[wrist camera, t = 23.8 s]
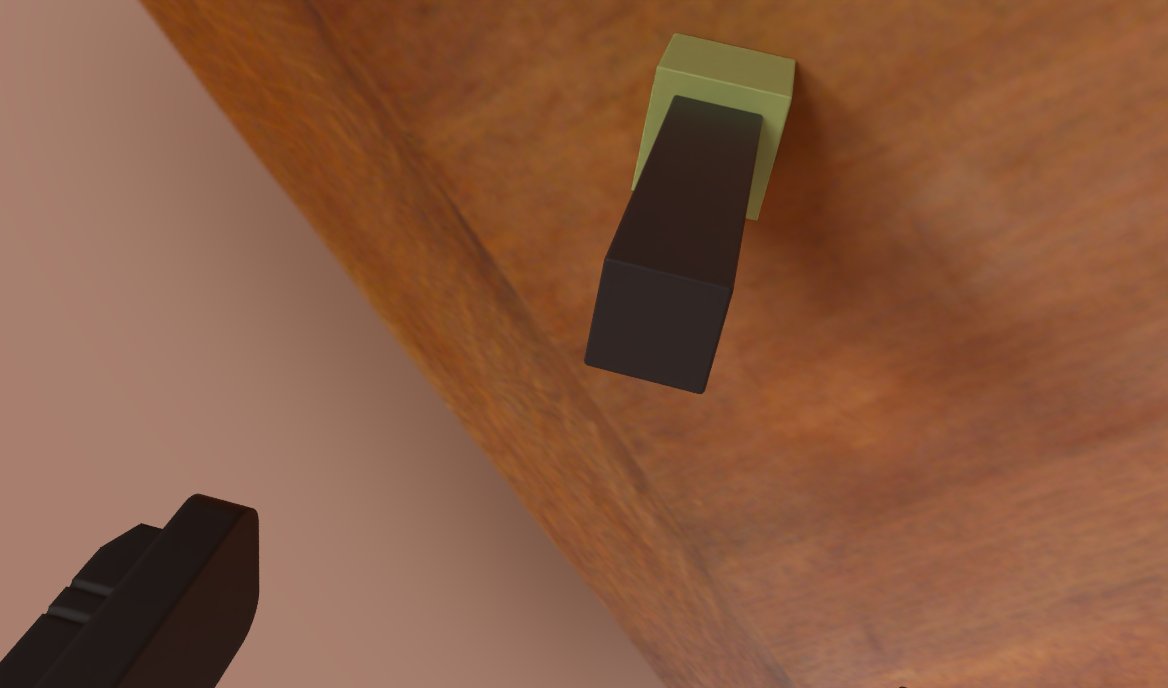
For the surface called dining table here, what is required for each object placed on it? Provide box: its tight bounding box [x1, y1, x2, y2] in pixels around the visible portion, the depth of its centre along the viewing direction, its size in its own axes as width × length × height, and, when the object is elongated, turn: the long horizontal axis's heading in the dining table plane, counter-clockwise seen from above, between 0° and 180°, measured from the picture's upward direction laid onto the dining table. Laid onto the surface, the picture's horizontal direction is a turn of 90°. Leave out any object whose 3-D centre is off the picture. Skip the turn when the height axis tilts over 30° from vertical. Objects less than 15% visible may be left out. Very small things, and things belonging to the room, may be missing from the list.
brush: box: [584, 33, 796, 394], centre depth 25 cm, size 4×4×14 cm
